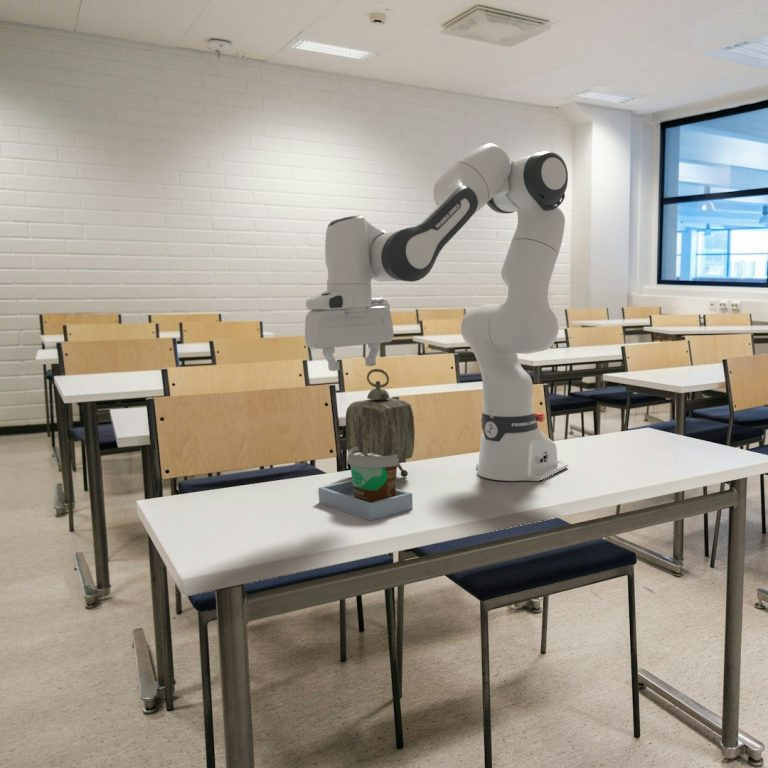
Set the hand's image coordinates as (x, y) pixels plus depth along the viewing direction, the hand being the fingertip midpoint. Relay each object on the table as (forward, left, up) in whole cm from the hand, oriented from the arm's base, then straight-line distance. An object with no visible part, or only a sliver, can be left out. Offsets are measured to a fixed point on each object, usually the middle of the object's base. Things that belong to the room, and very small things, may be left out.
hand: (352, 368), depth 140 cm
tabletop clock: (-15, -11, -27) cm, 33 cm away
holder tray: (+2, +5, -27) cm, 28 cm away
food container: (+1, +5, -27) cm, 27 cm away
